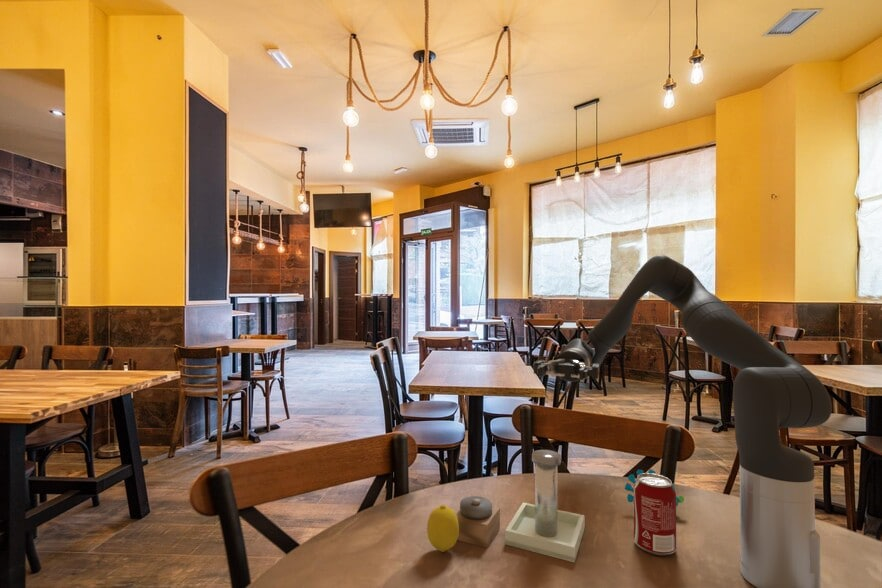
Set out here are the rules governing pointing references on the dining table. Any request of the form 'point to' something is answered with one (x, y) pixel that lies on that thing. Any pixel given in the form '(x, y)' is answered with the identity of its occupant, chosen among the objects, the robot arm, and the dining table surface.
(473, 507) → the pulley stand
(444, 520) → the lemon
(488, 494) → the dining table surface
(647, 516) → the soda can
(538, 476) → the pin
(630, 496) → the gear
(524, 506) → the tray
